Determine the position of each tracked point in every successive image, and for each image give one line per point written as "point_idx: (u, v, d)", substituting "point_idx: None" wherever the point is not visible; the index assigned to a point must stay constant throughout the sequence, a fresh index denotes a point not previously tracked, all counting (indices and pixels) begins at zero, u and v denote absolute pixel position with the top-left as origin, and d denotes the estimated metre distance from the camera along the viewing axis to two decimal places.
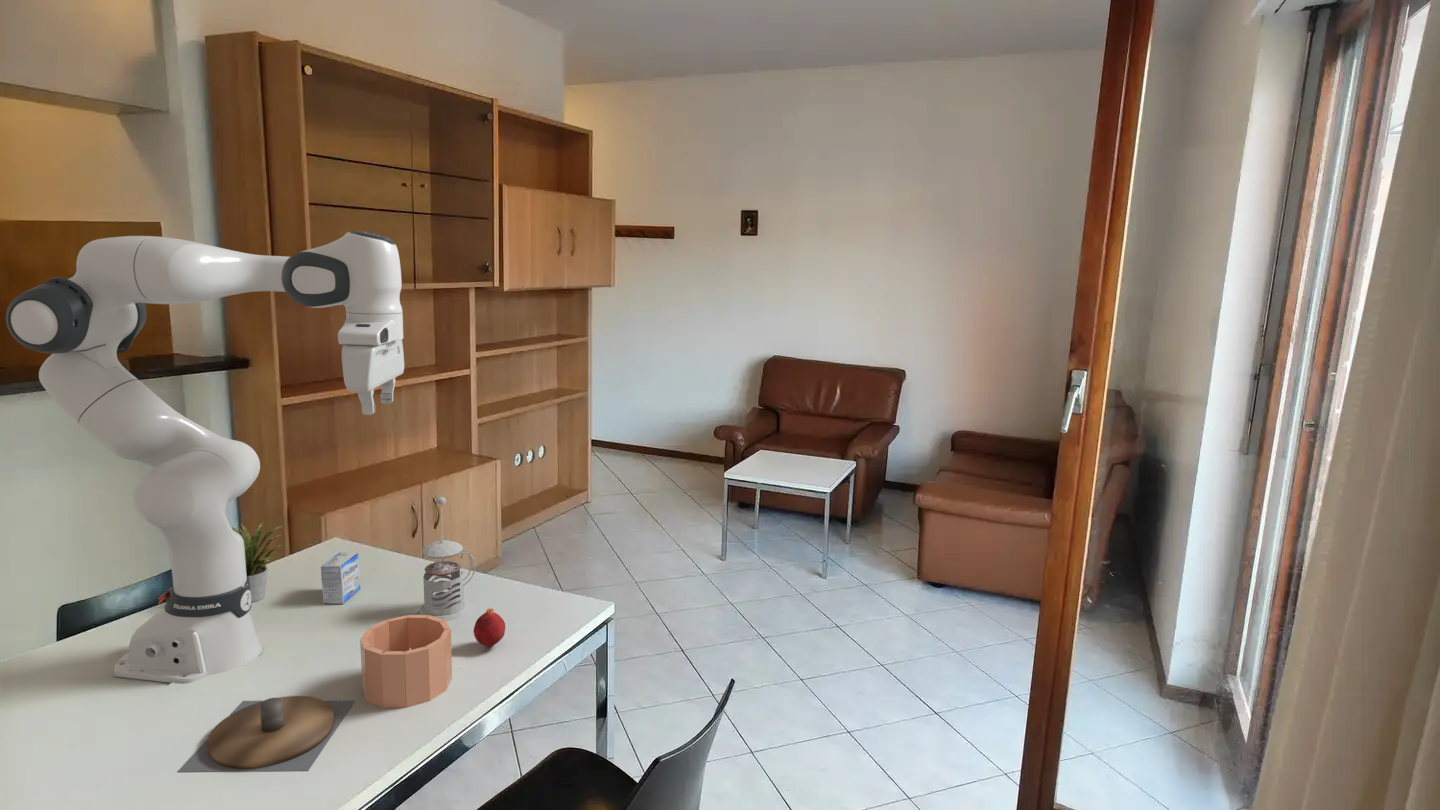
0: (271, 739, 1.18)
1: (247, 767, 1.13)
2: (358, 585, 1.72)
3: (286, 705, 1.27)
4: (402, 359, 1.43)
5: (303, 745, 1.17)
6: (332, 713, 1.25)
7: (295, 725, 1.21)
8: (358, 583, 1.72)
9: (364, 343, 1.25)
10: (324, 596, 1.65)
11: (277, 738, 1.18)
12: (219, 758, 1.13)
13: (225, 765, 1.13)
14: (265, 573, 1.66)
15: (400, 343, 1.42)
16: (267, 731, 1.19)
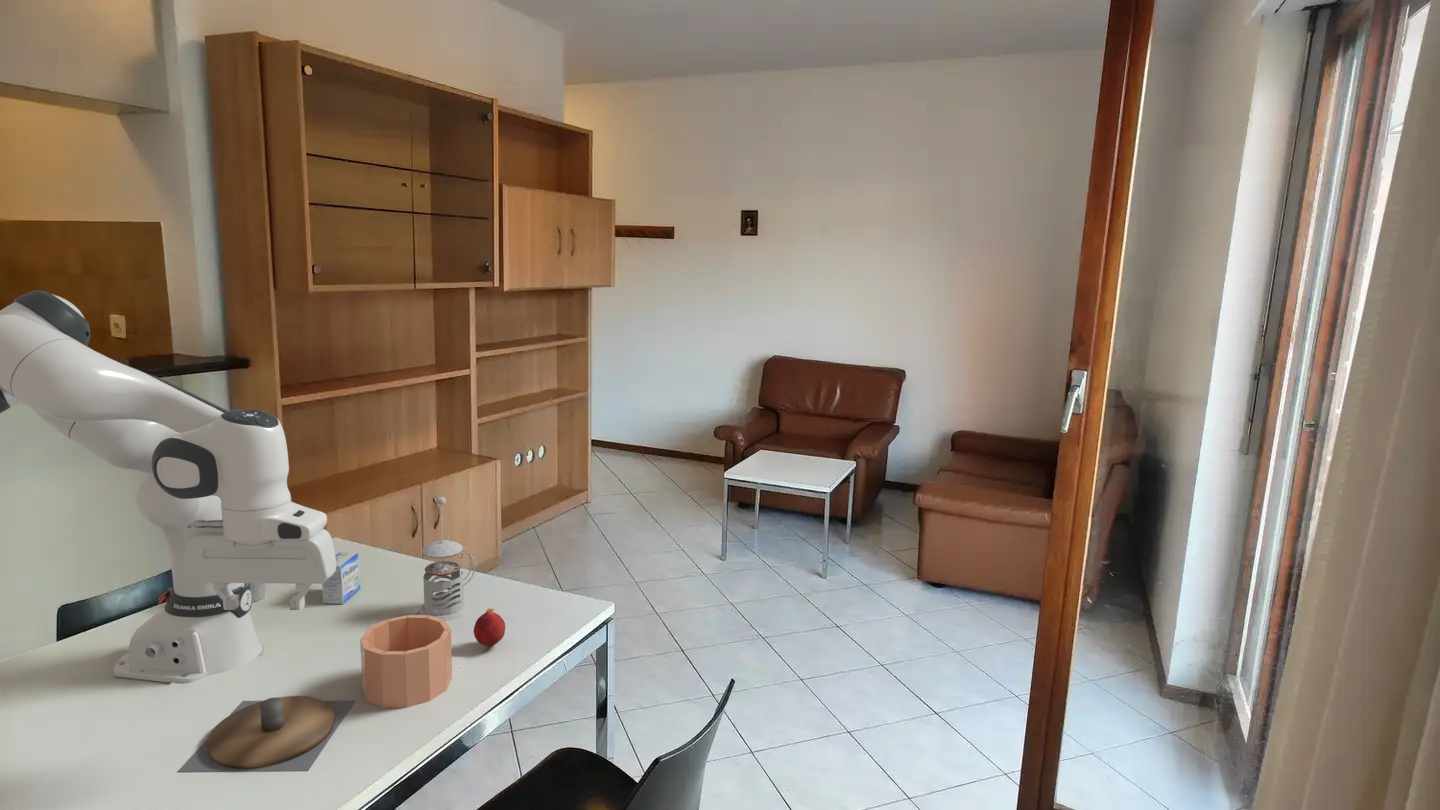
0: (271, 739, 1.18)
1: (247, 767, 1.13)
2: (358, 585, 1.72)
3: (286, 705, 1.27)
4: None
5: (303, 745, 1.17)
6: (332, 713, 1.25)
7: (295, 725, 1.21)
8: (358, 583, 1.72)
9: (322, 527, 1.17)
10: (324, 596, 1.65)
11: (277, 738, 1.18)
12: (219, 757, 1.13)
13: (225, 765, 1.13)
14: None
15: None
16: (267, 731, 1.19)
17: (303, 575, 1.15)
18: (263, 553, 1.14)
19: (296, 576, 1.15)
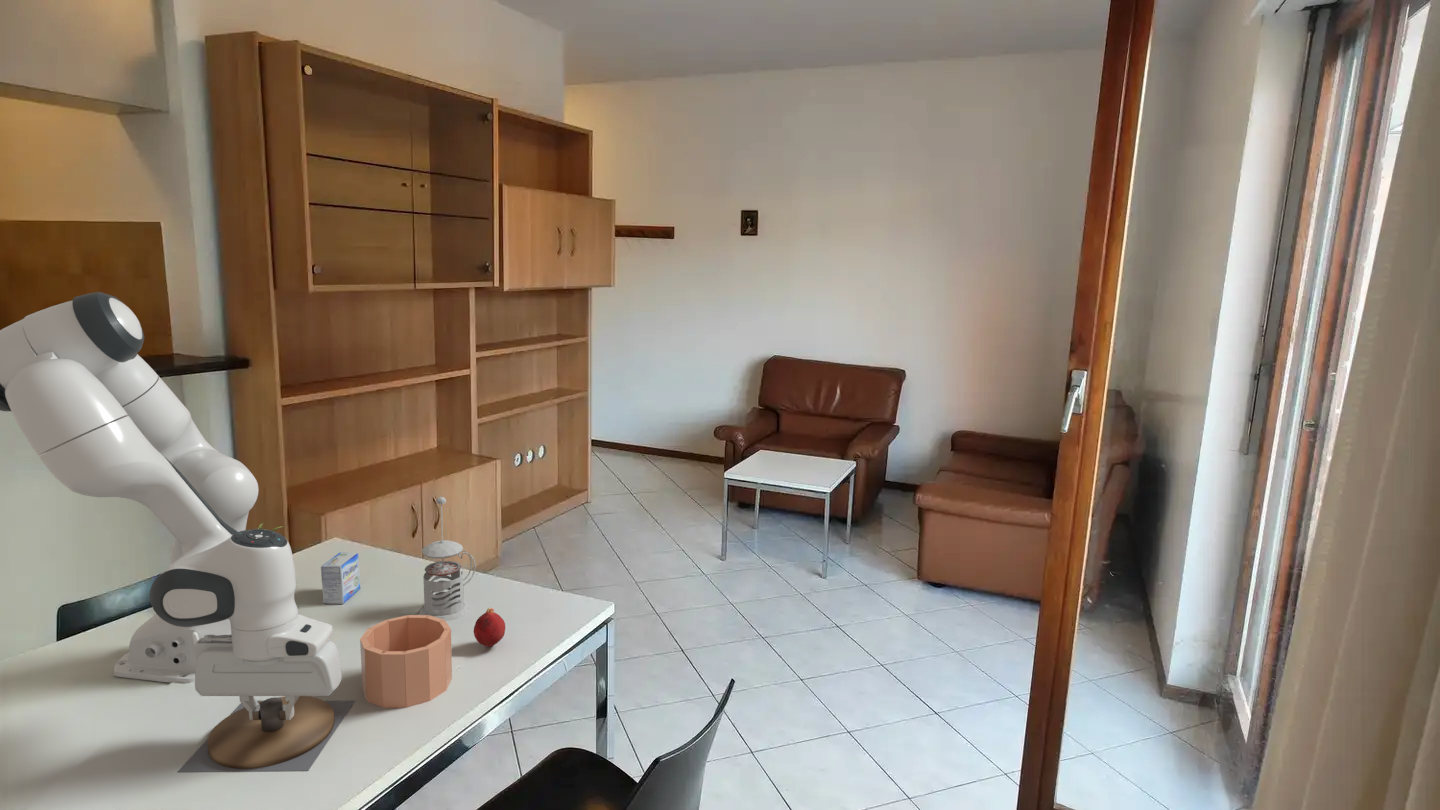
0: (271, 739, 1.18)
1: (247, 767, 1.13)
2: (358, 585, 1.72)
3: None
4: None
5: (303, 745, 1.17)
6: (332, 713, 1.25)
7: (295, 725, 1.21)
8: (358, 583, 1.72)
9: (328, 640, 1.20)
10: (324, 596, 1.65)
11: (277, 738, 1.18)
12: (219, 757, 1.13)
13: (225, 765, 1.13)
14: None
15: None
16: (267, 731, 1.19)
17: (309, 688, 1.18)
18: (271, 667, 1.18)
19: (303, 689, 1.18)
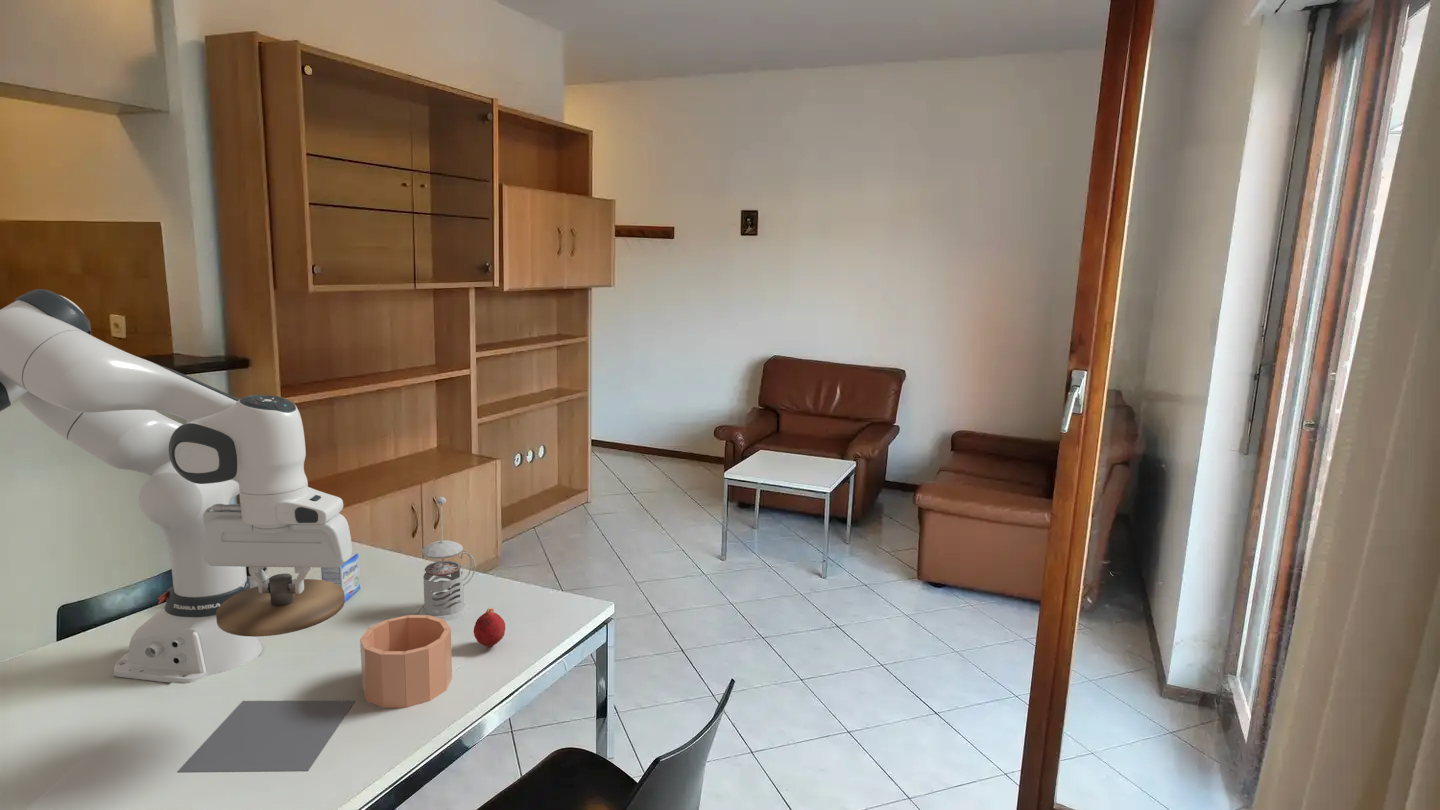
0: (281, 611, 1.16)
1: (256, 634, 1.11)
2: (358, 585, 1.72)
3: None
4: None
5: (313, 617, 1.15)
6: (342, 592, 1.23)
7: (305, 601, 1.19)
8: (358, 583, 1.72)
9: (338, 512, 1.18)
10: None
11: (287, 611, 1.16)
12: (228, 625, 1.11)
13: (234, 633, 1.11)
14: (265, 573, 1.66)
15: None
16: (276, 605, 1.17)
17: (319, 559, 1.16)
18: (281, 536, 1.15)
19: (313, 560, 1.16)
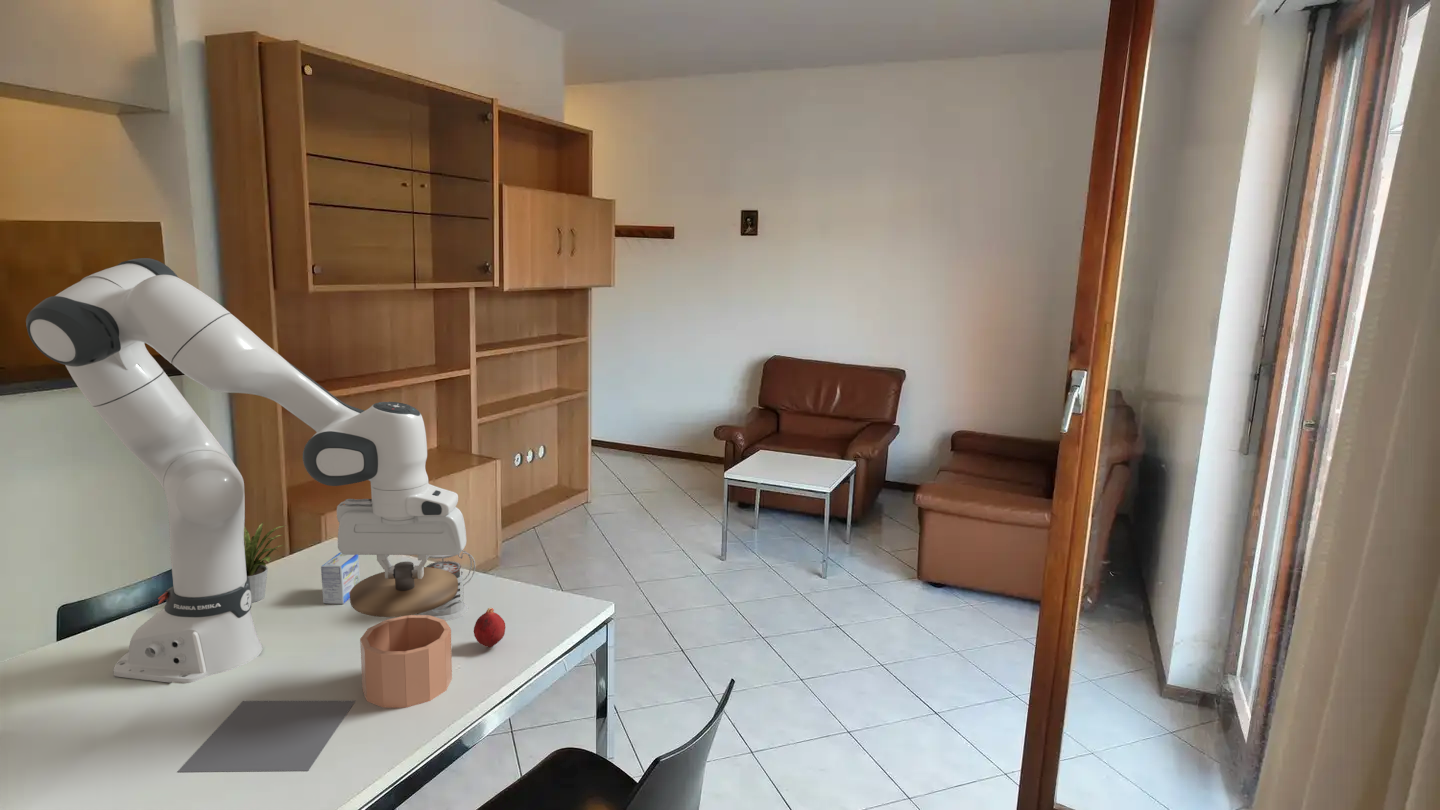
0: (407, 595, 1.30)
1: (390, 615, 1.25)
2: None
3: None
4: None
5: (437, 599, 1.28)
6: (455, 578, 1.37)
7: (425, 586, 1.33)
8: None
9: (455, 506, 1.32)
10: (324, 596, 1.65)
11: (412, 595, 1.30)
12: (365, 607, 1.25)
13: (370, 614, 1.25)
14: (265, 573, 1.66)
15: None
16: (401, 590, 1.31)
17: (440, 547, 1.30)
18: (406, 528, 1.29)
19: (435, 548, 1.30)
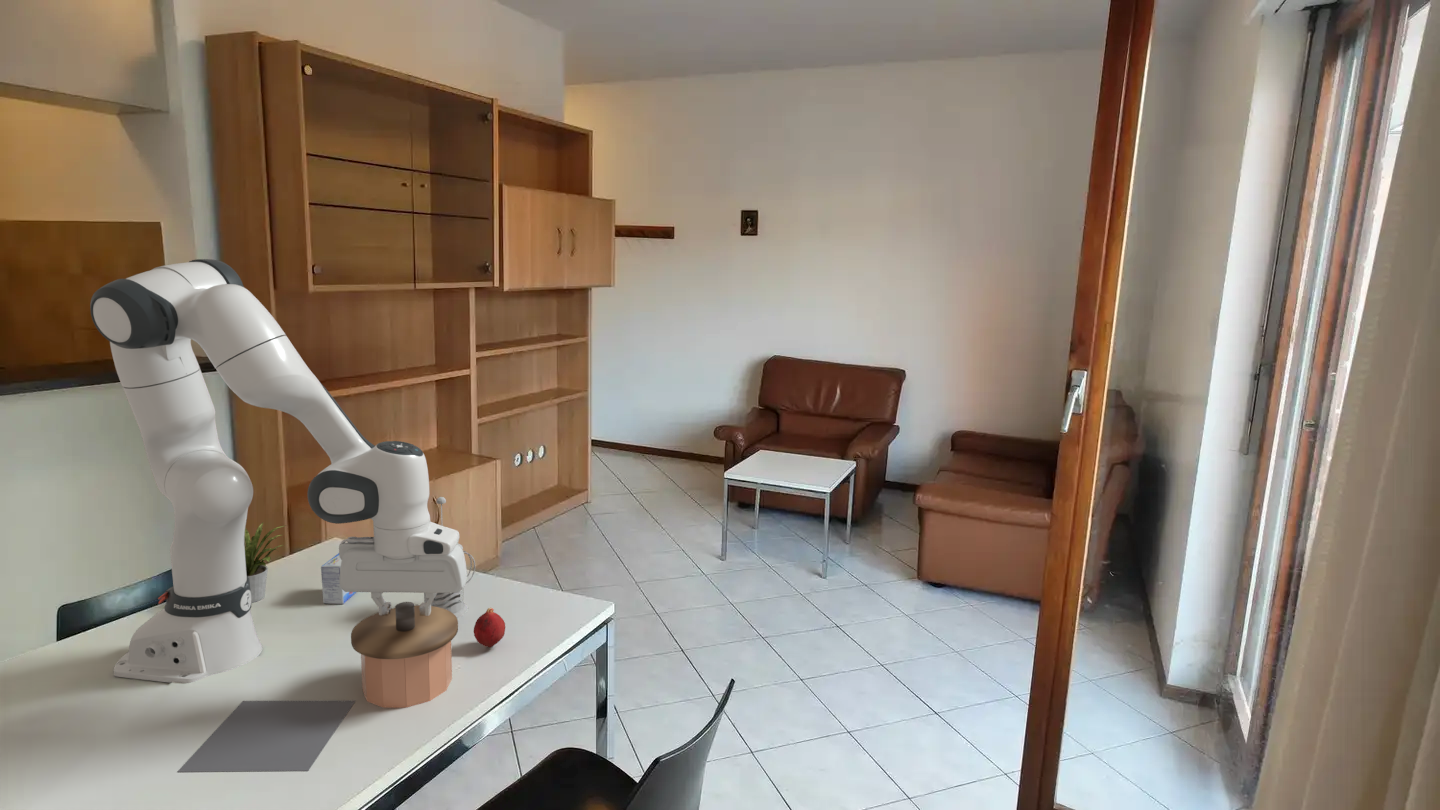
0: (407, 636, 1.31)
1: (391, 657, 1.26)
2: None
3: None
4: None
5: (437, 641, 1.30)
6: (455, 618, 1.38)
7: (425, 626, 1.35)
8: None
9: None
10: (324, 596, 1.65)
11: (412, 636, 1.31)
12: (366, 649, 1.26)
13: (371, 656, 1.26)
14: (265, 573, 1.66)
15: None
16: (402, 630, 1.33)
17: (441, 585, 1.31)
18: (408, 566, 1.30)
19: (435, 586, 1.31)
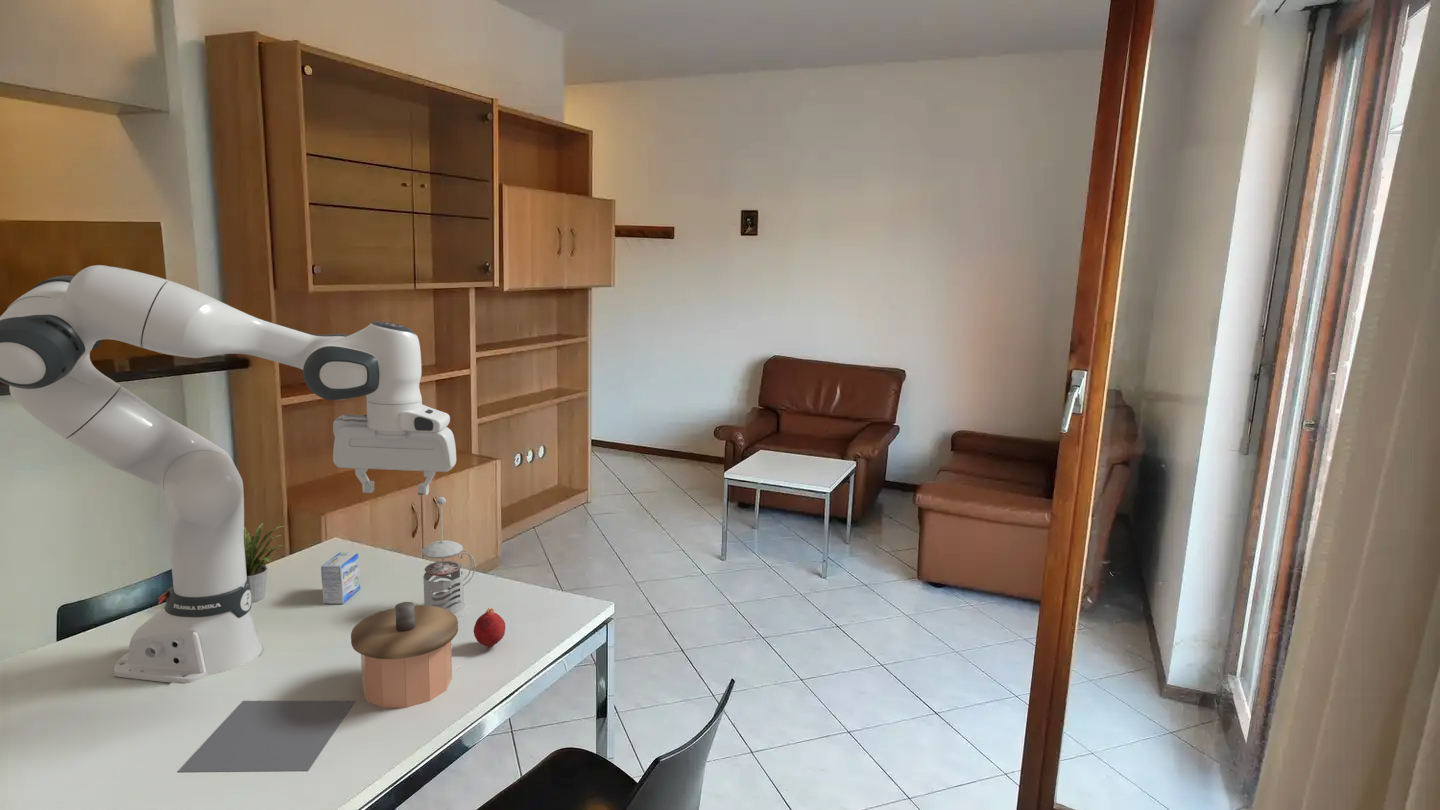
0: (407, 636, 1.31)
1: (391, 657, 1.26)
2: (358, 585, 1.72)
3: None
4: None
5: (437, 641, 1.30)
6: (455, 618, 1.38)
7: (425, 626, 1.35)
8: (358, 583, 1.72)
9: None
10: (324, 596, 1.65)
11: (412, 636, 1.31)
12: (366, 649, 1.26)
13: (371, 656, 1.26)
14: (265, 573, 1.66)
15: None
16: (402, 630, 1.33)
17: (431, 464, 1.36)
18: (399, 443, 1.35)
19: (425, 464, 1.36)
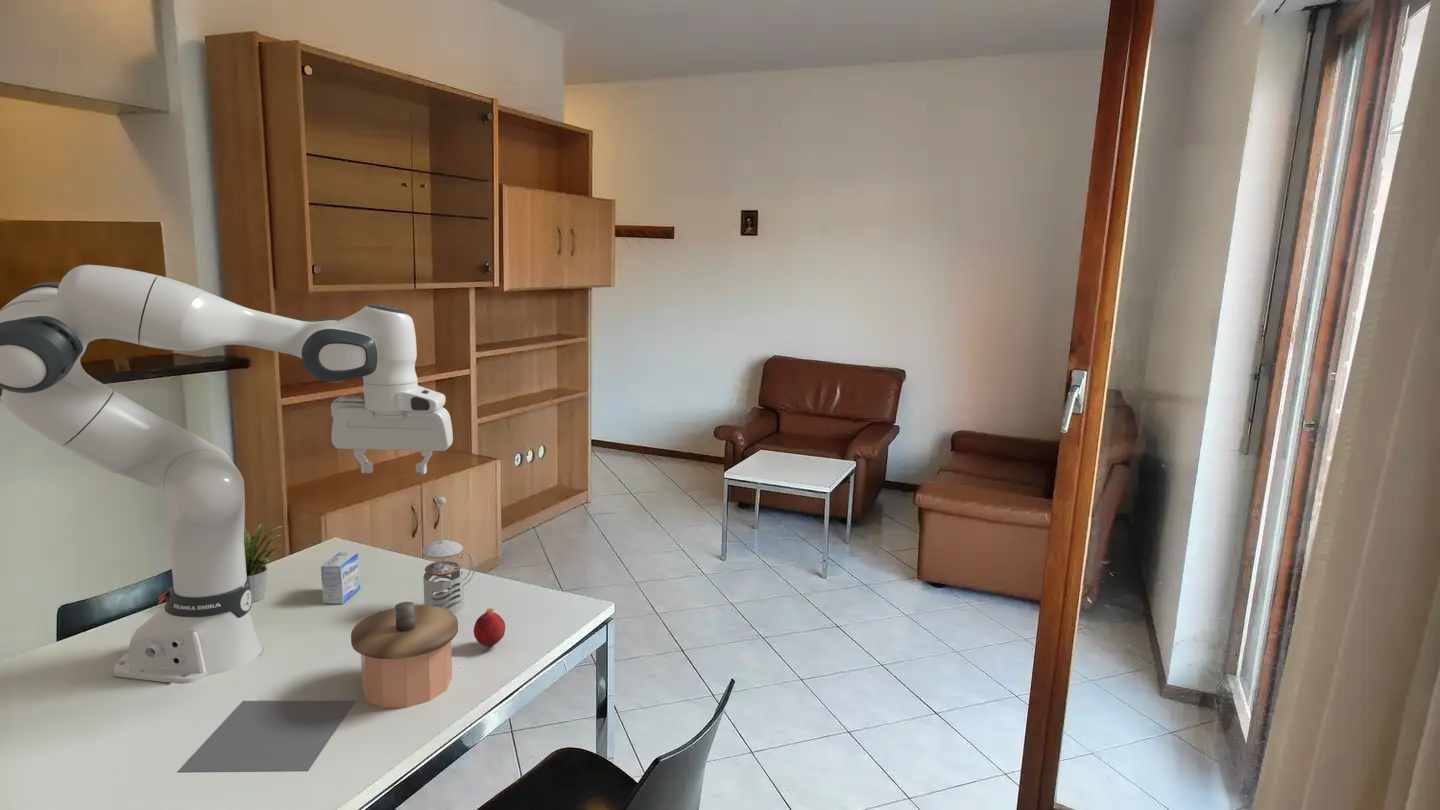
0: (407, 636, 1.31)
1: (391, 657, 1.26)
2: (358, 585, 1.72)
3: None
4: None
5: (437, 641, 1.30)
6: (455, 618, 1.38)
7: (425, 626, 1.35)
8: (358, 583, 1.72)
9: None
10: (324, 596, 1.65)
11: (412, 636, 1.31)
12: (366, 649, 1.26)
13: (371, 656, 1.26)
14: (265, 573, 1.66)
15: None
16: (402, 630, 1.33)
17: (428, 443, 1.39)
18: (396, 423, 1.38)
19: (423, 444, 1.38)
